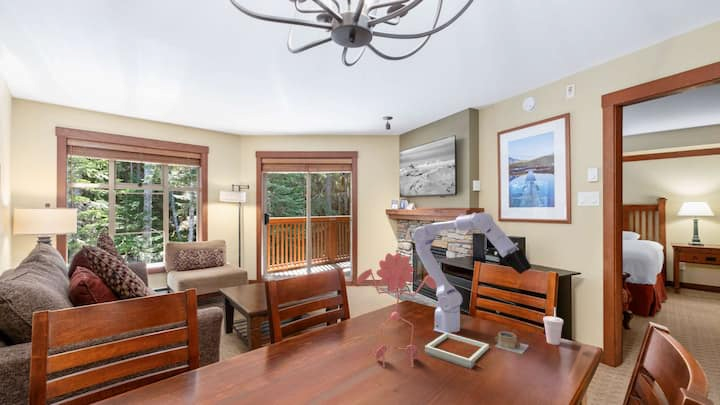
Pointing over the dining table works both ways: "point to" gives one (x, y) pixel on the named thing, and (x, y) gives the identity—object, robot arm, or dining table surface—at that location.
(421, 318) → the dining table surface
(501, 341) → the collar
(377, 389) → the dining table surface
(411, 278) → the figurine
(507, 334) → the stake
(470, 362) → the tray
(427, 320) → the dining table surface
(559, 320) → the smoothie
